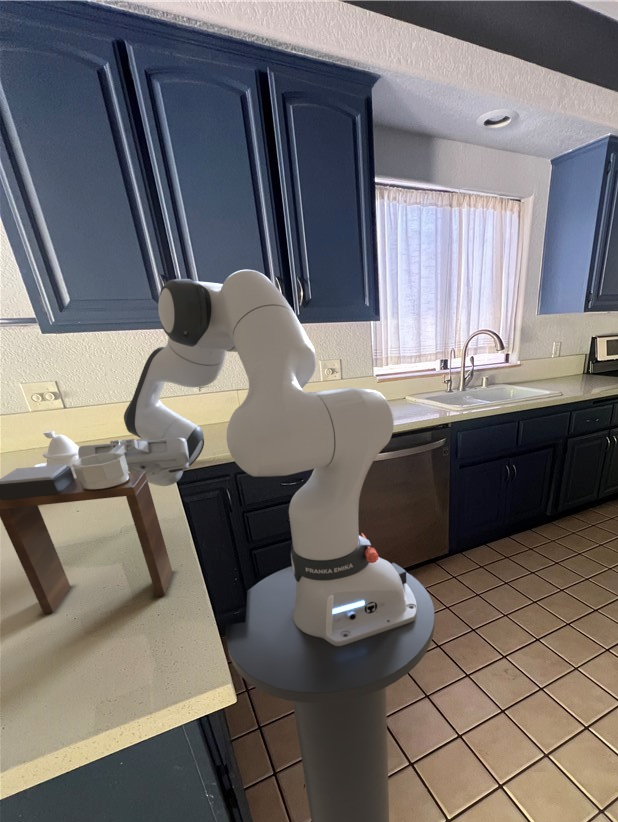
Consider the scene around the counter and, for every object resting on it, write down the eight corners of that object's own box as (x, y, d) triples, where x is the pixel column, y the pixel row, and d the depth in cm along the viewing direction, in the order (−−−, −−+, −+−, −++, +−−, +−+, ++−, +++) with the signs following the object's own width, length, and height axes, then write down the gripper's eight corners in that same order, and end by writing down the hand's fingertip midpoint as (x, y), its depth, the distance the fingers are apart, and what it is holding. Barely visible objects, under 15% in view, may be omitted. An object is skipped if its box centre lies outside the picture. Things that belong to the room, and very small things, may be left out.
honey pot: (57, 499, 123) (33, 439, 116) (47, 488, 132) (25, 431, 124) (106, 487, 132) (87, 429, 124) (94, 477, 140) (76, 423, 132)
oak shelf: (172, 572, 87) (144, 471, 78) (165, 595, 80) (133, 487, 71) (62, 588, 83) (18, 483, 73) (43, 614, 76) (-8, 501, 66)
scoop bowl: (149, 453, 87) (144, 434, 85) (122, 486, 70) (115, 463, 69) (111, 456, 85) (105, 437, 84) (75, 491, 69) (66, 468, 67)
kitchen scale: (75, 479, 75) (69, 463, 73) (58, 494, 68) (51, 477, 67) (22, 484, 73) (15, 467, 72) (0, 500, 67) (-8, 482, 65)
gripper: (94, 450, 94) (60, 432, 80) (192, 441, 98) (176, 423, 85) (96, 478, 93) (63, 465, 80) (195, 468, 98) (180, 454, 84)
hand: (122, 443), depth 82 cm, fingers closed on scoop bowl
